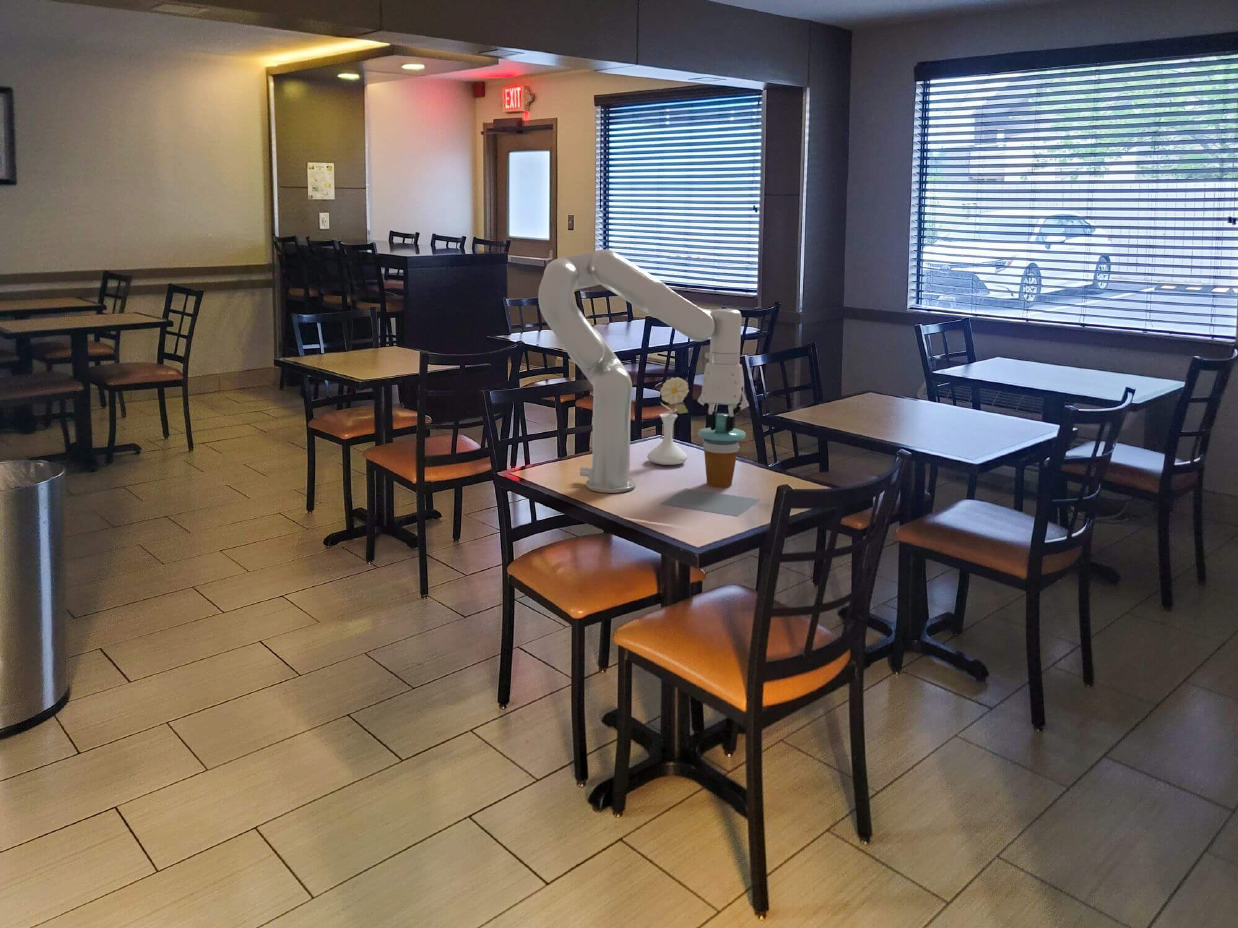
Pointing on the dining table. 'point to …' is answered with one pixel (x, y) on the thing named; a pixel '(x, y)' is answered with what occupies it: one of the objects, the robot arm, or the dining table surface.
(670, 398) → the flower in vase
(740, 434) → the lid
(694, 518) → the dining table surface
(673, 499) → the mat
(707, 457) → the disposable coffee cup
